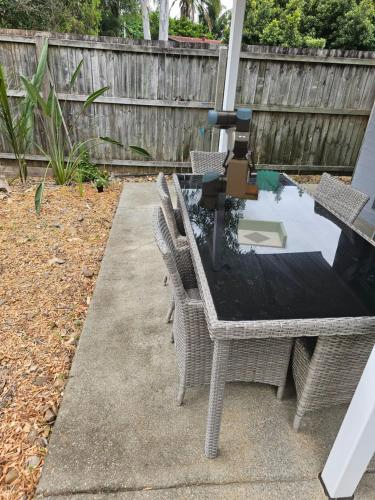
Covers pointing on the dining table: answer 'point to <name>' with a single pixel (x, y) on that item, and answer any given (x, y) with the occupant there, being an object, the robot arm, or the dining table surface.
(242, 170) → the wooden block
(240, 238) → the corner tray
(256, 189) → the diary
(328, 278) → the dining table surface
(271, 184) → the basket
